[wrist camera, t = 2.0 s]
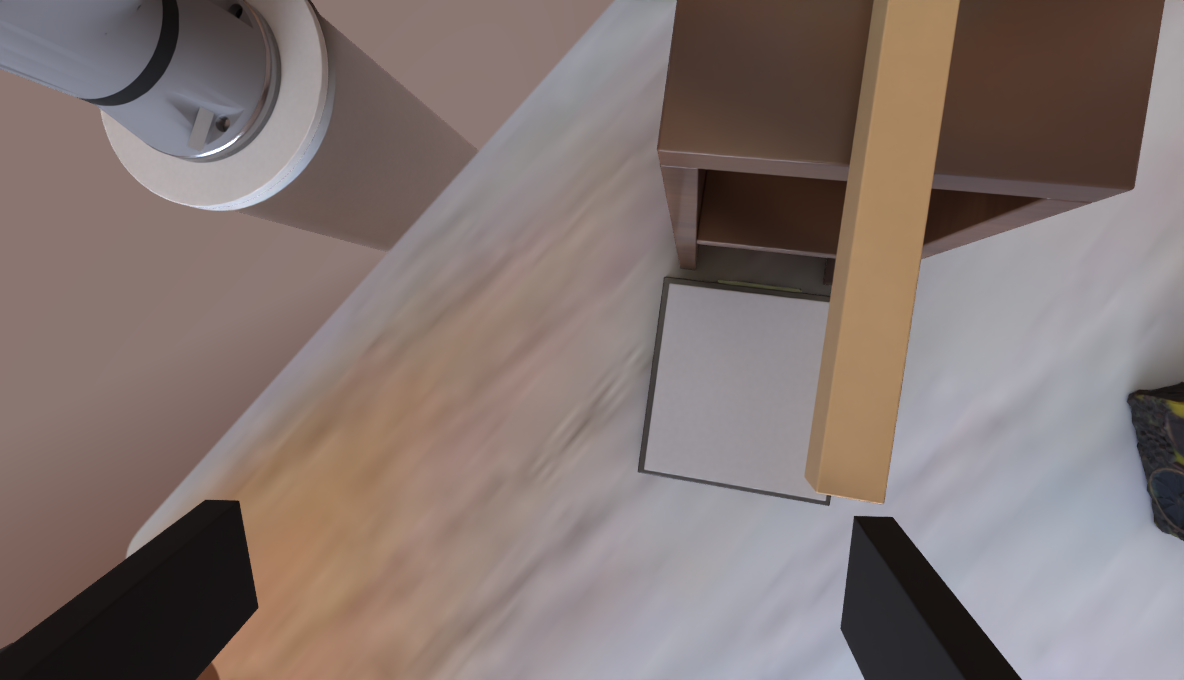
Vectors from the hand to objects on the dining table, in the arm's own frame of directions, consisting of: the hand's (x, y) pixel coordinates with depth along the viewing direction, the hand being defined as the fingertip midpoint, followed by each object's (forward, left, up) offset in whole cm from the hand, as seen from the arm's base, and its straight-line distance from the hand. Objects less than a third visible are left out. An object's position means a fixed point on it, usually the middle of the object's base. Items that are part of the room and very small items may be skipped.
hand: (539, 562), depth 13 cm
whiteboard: (-2, +7, -35) cm, 35 cm away
